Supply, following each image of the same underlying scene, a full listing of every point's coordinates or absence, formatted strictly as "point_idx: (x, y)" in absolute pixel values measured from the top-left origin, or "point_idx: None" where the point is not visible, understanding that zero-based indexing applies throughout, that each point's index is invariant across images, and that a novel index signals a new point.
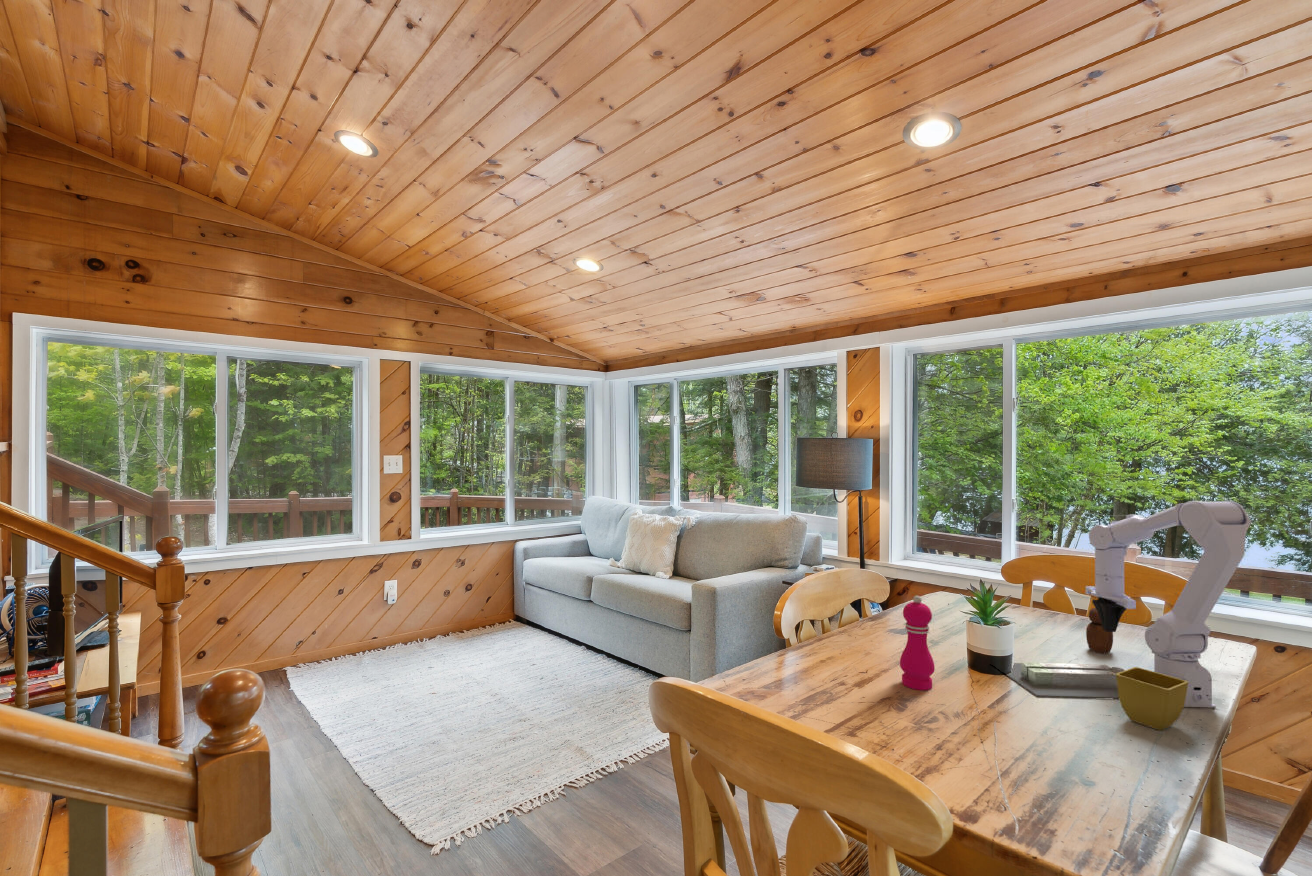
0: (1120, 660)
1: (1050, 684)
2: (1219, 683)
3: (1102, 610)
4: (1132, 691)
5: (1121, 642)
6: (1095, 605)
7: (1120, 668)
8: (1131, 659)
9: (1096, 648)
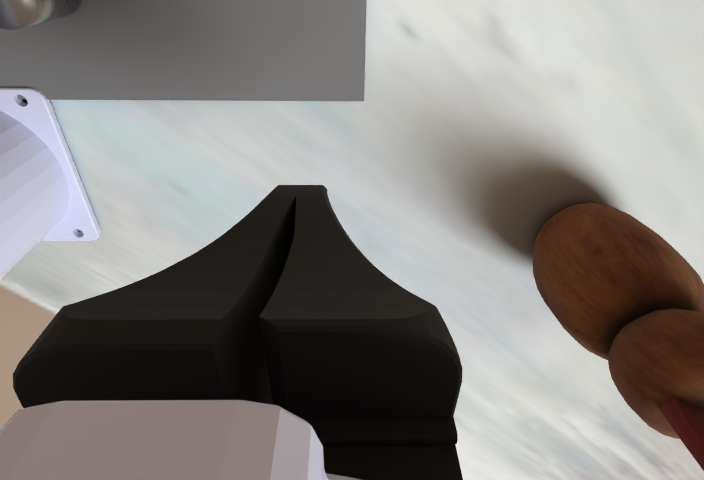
0: (453, 245)
1: None
2: None
3: (231, 277)
4: None
5: None
6: (369, 293)
7: (20, 18)
8: (461, 290)
9: (561, 216)
